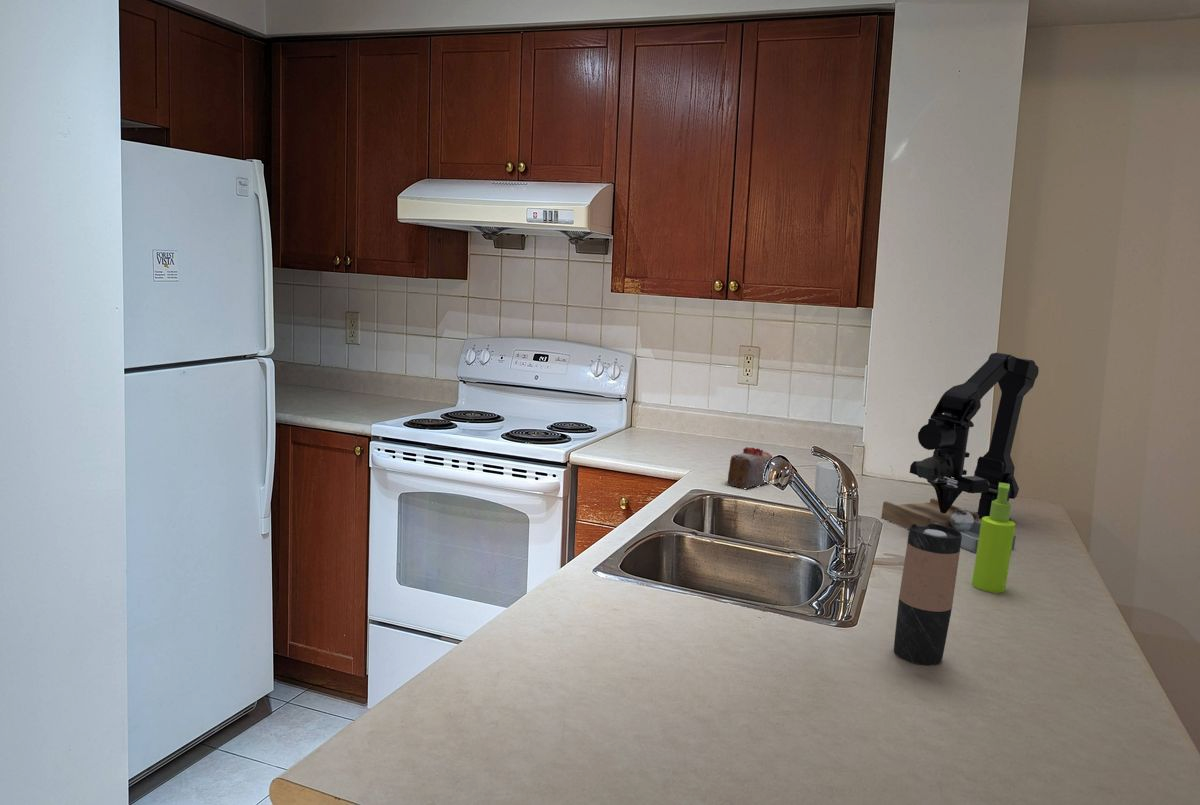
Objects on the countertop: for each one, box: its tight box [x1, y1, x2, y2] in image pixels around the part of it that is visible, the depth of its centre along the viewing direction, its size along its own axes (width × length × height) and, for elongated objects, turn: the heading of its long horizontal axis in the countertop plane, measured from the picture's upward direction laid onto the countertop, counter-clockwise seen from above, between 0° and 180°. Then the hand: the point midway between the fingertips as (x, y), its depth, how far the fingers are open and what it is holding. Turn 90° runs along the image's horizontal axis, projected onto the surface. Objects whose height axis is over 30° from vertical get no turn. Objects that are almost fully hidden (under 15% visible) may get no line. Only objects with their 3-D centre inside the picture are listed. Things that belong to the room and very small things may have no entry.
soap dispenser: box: [971, 482, 1016, 594], centre depth 174 cm, size 6×7×20 cm
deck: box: [881, 497, 980, 532], centre depth 215 cm, size 16×14×4 cm
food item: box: [726, 446, 773, 489], centre depth 240 cm, size 14×8×10 cm, turn 144°
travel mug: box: [893, 523, 962, 666], centre depth 139 cm, size 8×8×20 cm
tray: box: [934, 521, 1017, 554], centre depth 204 cm, size 12×12×3 cm
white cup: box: [814, 461, 850, 507], centre depth 225 cm, size 8×8×10 cm
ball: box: [950, 508, 974, 532], centre depth 206 cm, size 5×5×5 cm
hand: (943, 512), depth 211 cm, fingers closed
